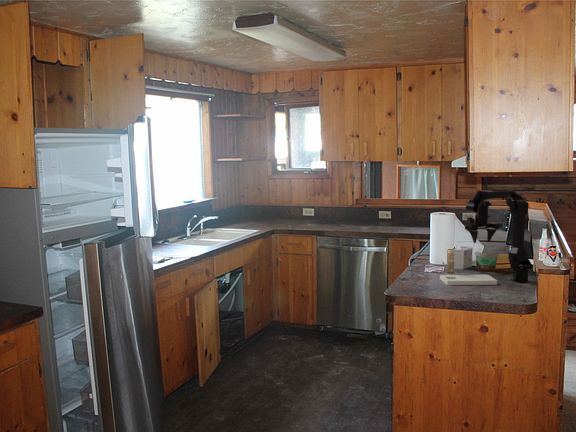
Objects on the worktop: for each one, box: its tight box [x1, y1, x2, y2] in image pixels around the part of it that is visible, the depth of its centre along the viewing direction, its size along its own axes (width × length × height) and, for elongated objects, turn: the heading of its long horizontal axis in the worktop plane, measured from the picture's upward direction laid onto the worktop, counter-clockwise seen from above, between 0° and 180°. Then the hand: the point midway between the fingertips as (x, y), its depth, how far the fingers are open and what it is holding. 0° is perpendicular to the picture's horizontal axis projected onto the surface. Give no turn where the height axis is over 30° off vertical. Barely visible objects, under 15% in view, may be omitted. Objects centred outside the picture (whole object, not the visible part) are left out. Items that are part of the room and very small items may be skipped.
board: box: [439, 274, 498, 286], centre depth 260 cm, size 24×12×2 cm, turn 91°
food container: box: [473, 251, 500, 273], centre depth 282 cm, size 12×6×10 cm, turn 73°
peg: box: [446, 249, 455, 275], centre depth 269 cm, size 4×4×14 cm
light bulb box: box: [453, 245, 474, 270], centre depth 291 cm, size 11×7×11 cm, turn 136°
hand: (481, 242), depth 285 cm, fingers open, 9 cm apart
